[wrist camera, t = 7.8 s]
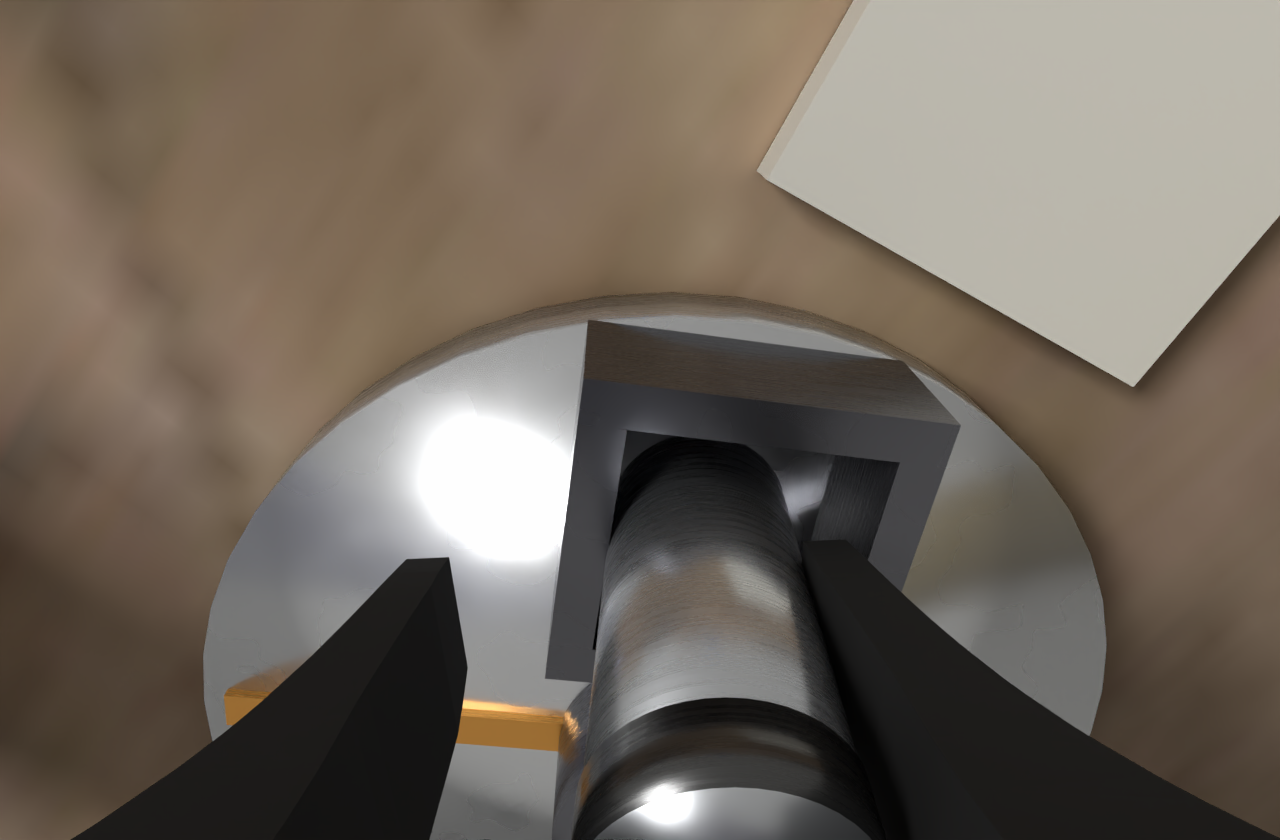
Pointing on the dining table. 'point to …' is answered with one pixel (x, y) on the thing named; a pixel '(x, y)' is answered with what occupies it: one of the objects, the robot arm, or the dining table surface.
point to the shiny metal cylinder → (713, 667)
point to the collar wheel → (584, 508)
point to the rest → (1051, 154)
